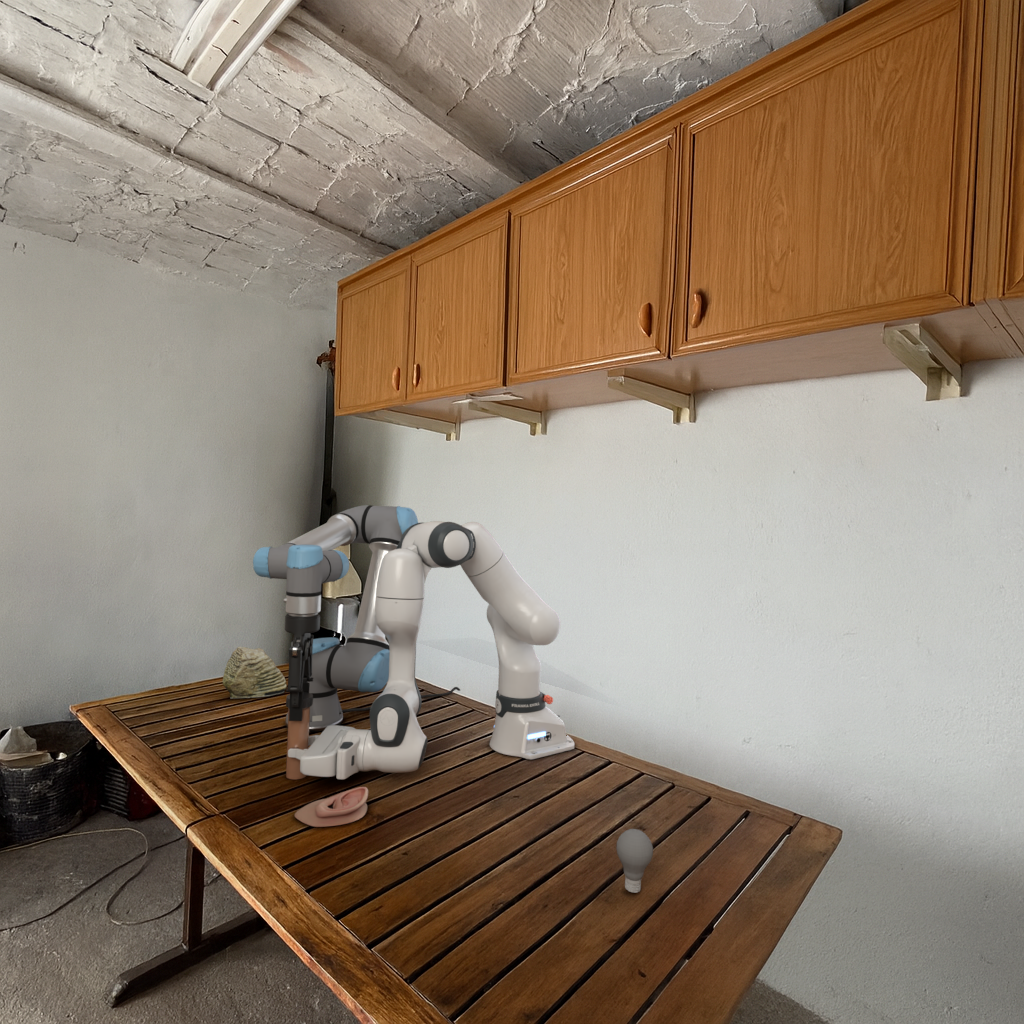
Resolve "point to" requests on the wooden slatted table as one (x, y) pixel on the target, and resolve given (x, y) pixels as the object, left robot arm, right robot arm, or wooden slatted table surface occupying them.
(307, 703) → the lid
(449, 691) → the left robot arm
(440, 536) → the right robot arm
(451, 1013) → the wooden slatted table surface
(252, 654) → the fossil
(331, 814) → the anatomical model
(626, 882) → the light bulb
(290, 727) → the jar
